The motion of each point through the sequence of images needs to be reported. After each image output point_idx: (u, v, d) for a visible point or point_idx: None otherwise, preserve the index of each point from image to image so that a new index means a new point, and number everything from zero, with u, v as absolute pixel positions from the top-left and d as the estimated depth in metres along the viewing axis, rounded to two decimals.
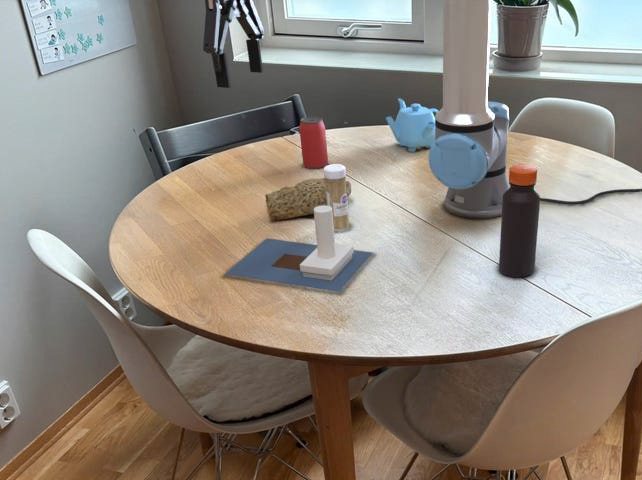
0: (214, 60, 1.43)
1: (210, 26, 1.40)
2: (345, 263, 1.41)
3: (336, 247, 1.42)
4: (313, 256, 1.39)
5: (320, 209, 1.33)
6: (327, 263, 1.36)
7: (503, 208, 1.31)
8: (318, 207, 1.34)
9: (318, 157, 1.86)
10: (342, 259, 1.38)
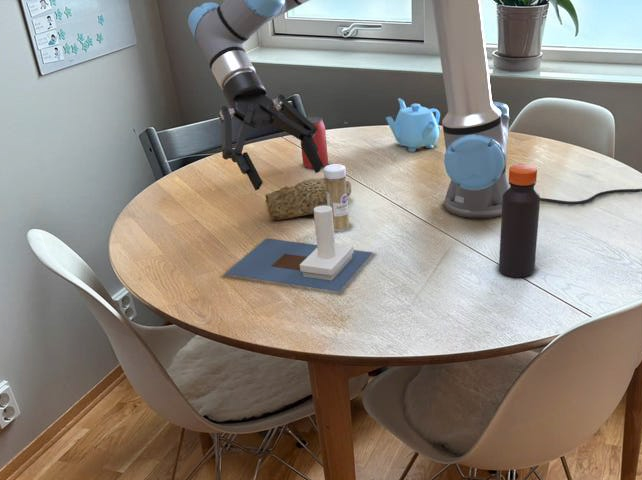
0: (238, 163, 1.35)
1: (223, 133, 1.35)
2: (345, 263, 1.41)
3: (336, 247, 1.42)
4: (313, 256, 1.39)
5: (320, 209, 1.33)
6: (327, 263, 1.36)
7: (503, 208, 1.31)
8: (318, 207, 1.34)
9: None
10: (342, 259, 1.38)
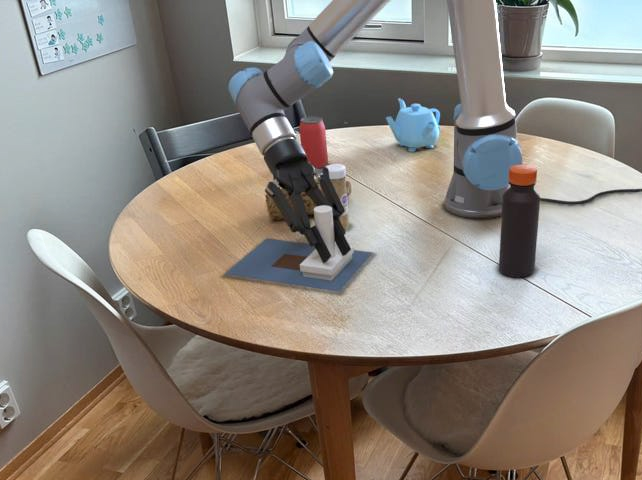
0: (306, 237, 1.34)
1: (282, 209, 1.33)
2: (345, 263, 1.41)
3: (336, 247, 1.42)
4: (313, 256, 1.39)
5: (320, 209, 1.33)
6: (327, 263, 1.36)
7: (503, 208, 1.31)
8: (318, 207, 1.34)
9: (318, 157, 1.86)
10: (342, 259, 1.38)
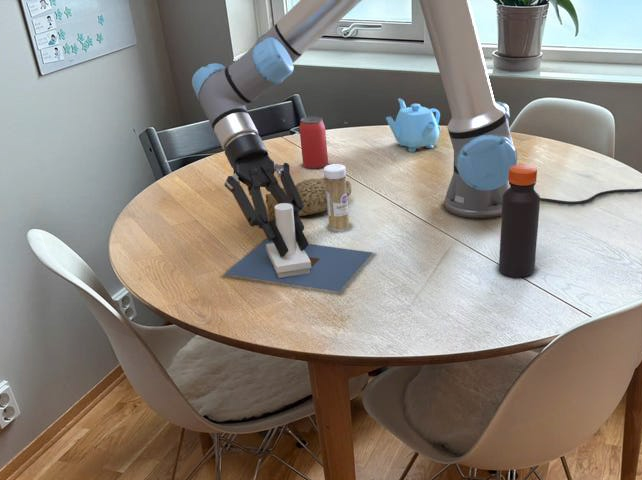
0: (264, 231, 1.36)
1: (241, 203, 1.35)
2: None
3: None
4: (277, 257, 1.38)
5: (282, 207, 1.34)
6: (299, 258, 1.38)
7: (503, 208, 1.31)
8: (277, 206, 1.35)
9: (318, 157, 1.86)
10: None
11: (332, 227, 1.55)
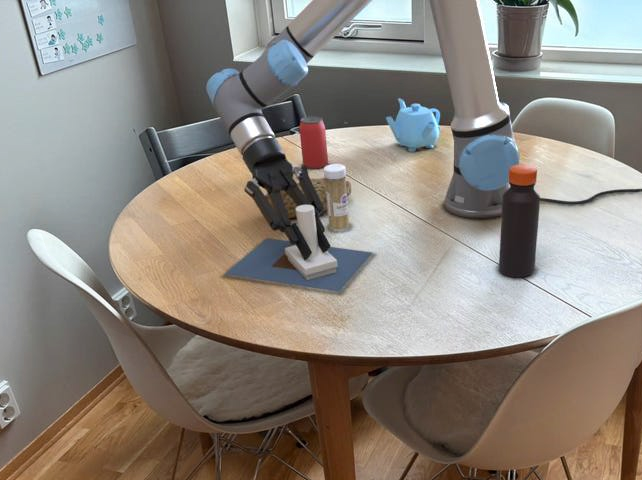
0: (287, 234, 1.36)
1: (262, 207, 1.35)
2: None
3: None
4: (302, 259, 1.37)
5: (304, 209, 1.34)
6: (324, 258, 1.38)
7: (503, 208, 1.31)
8: (298, 208, 1.34)
9: (318, 157, 1.86)
10: None
11: (332, 227, 1.55)
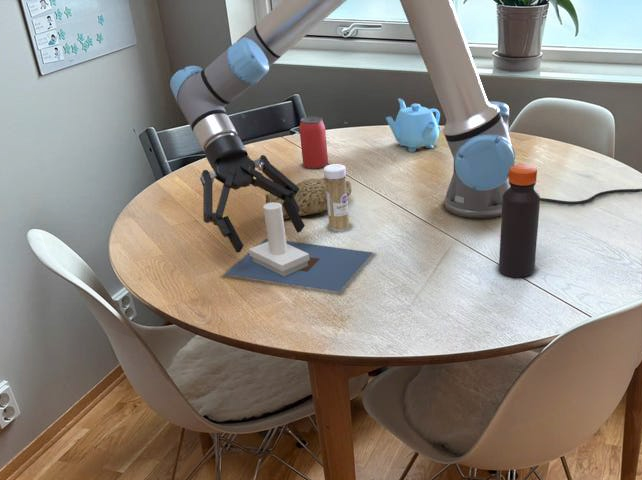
0: (219, 227, 1.36)
1: (204, 197, 1.36)
2: None
3: (269, 245, 1.43)
4: (273, 257, 1.39)
5: (272, 206, 1.35)
6: (294, 253, 1.40)
7: (503, 208, 1.31)
8: (266, 206, 1.35)
9: (318, 157, 1.86)
10: None
11: (332, 227, 1.55)
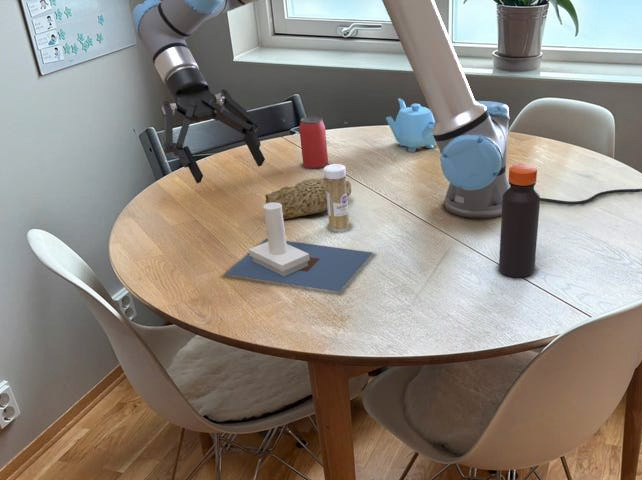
0: (179, 157, 1.38)
1: (165, 128, 1.38)
2: None
3: (269, 245, 1.43)
4: (273, 257, 1.39)
5: (272, 206, 1.35)
6: (294, 253, 1.40)
7: (503, 208, 1.31)
8: (266, 206, 1.35)
9: (318, 157, 1.86)
10: None
11: (332, 227, 1.55)
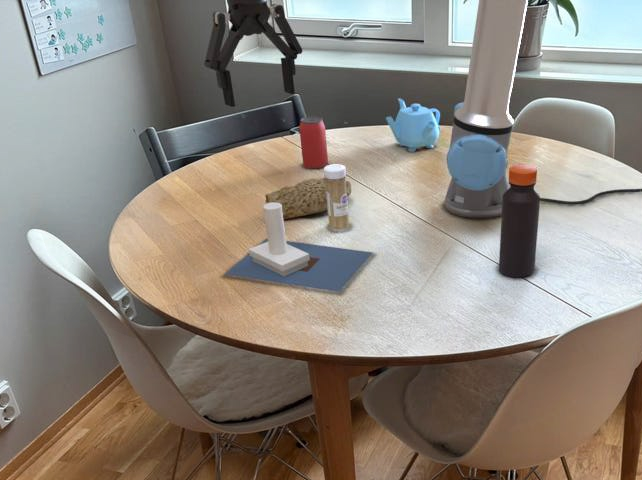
0: (217, 77, 1.37)
1: (212, 42, 1.33)
2: None
3: (269, 245, 1.43)
4: (273, 257, 1.39)
5: (272, 206, 1.35)
6: (294, 253, 1.40)
7: (503, 208, 1.31)
8: (266, 206, 1.35)
9: (318, 157, 1.86)
10: None
11: (332, 227, 1.55)
